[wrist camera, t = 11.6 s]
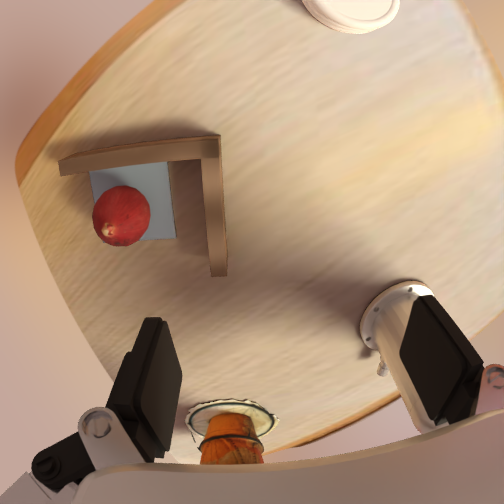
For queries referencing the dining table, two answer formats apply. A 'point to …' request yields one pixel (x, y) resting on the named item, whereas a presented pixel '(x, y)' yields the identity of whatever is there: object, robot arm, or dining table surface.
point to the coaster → (353, 14)
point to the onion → (121, 216)
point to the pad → (150, 185)
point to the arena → (164, 152)
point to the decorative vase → (230, 431)
